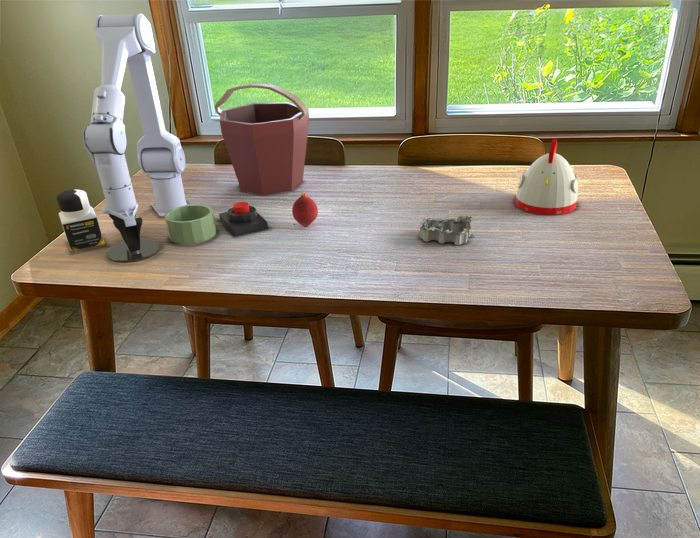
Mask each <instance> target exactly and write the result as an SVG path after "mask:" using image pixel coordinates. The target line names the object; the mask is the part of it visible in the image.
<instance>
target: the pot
mask: <svg viewBox="0 0 700 538" xmlns="http://www.w3.org/2000/svg"><path fill="white" fill-rule="evenodd" d="M164 221H165V226H166V230H167V231H166V232H167V235H168V238H169V240H170V241H171V242H173V243H176V244H182V245H191V244H197V243H202V242H205V241H208V240H210V239H212V238H214V237H215V236H216V234H217V227H216V226H217V225H216V220H215V213H214V209H213V208H212V207H211V206H208V205H206V204H198V203H197V204H196V203H195V204H188V205H185V206H180V207H177V208H174V209H171V210H170V211H168V212H167V213H166V214H165V215H164Z"/></svg>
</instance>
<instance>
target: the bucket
mask: <svg viewBox="0 0 700 538" xmlns="http://www.w3.org/2000/svg"><path fill="white" fill-rule="evenodd" d="M244 89H263V90H269V91H272V92H273V93H276V94H278V95H280V96H282V97H284V98H286V99H287V100H289V101H290V102H289V101H288V102H286V101H284V102H283V101H282V102H280V101H279V102H251V103H246V104H243V105H239V106H235V107H231V108H227V109H221V108H220V107H221V106H222V105H223V104H225V103H226V102H227V101H228V100H229V99H230V97H231V96H232V94H233V93H234V92H235V91H240V90H244ZM214 110H215V113H216V114H217V115H218V116H219V125H220V131H221V135H222V136H221V137H222V138H223V141H224V144H225V147H226V150H227V153H228V156H229V158H230V162H231V165H232V168H233V171H234V174H235V177H236V180H237V182H238V185H239V188H240V191H241V192H243V193H249V194H255V195H259V196H271V195H275V194H282V193H287V192H293V190H295V189H296V188H297V187H298V186H299V185H301V184H302V183H303V181H304V175H305V174H304V173H305V164H306V154H307V146H308V138H309V137H308V136H309V127H310V113H309V112H310V111H309V108H308V107H307V105H306V104H305V103H304V102H303V100H301V98H300V97H298V96H296V95H295V94H294V93H292V92H291V91H288V90H286V89H285V88H283V87H280V86H279V85H275V84H269V83H258V82H257V83H246V84H240V85H237V86H233V87H231V88H229V89H226V91H225V92H224V93H223V95H222V96H221V97H220V99H219V100H218V101H216V102H215V104H214Z"/></svg>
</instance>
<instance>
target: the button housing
mask: <svg viewBox="0 0 700 538" xmlns="http://www.w3.org/2000/svg"><path fill="white" fill-rule="evenodd" d="M249 210H250V211H249V212H248V213H244V214H235V213H234V210H233V206H232V207H231V208H228V209H227V211H224V212H220V213H219V212H218V217H219V221H220V223H222V225H223V226H224V227H226V229H227V230H228V231H229V232H230V233H231V234H232V235H233V236H234V237H239V236H242V235H243V236H244V235H248V234H252V233H255V232H260V231H264V230H268V229H269V225H268V221H267V220H266V219H265V218H264V217H263V215H261V214H260V213H258V211H257V208H256V207H255V206H253V205H249Z"/></svg>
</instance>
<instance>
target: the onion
mask: <svg viewBox="0 0 700 538" xmlns="http://www.w3.org/2000/svg"><path fill="white" fill-rule="evenodd" d="M291 210H292V211H291V213H292V217H293V219H294V220H295V222H297V223H298V224H299V225H301V226H303V227H305V228H306V227H309V226H310V225H311V224H312V223H314V222H315V221H316V219H317V217H318V216H319V207H318V205H317V203H316V201H315V200H314V199H313V198H311V197H310V196H308V193H307V192H306V191H302V193H301V194H300V196H299V197H298V198H297V199H296V200H295V201H294V202H293V205H292V208H291Z"/></svg>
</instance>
